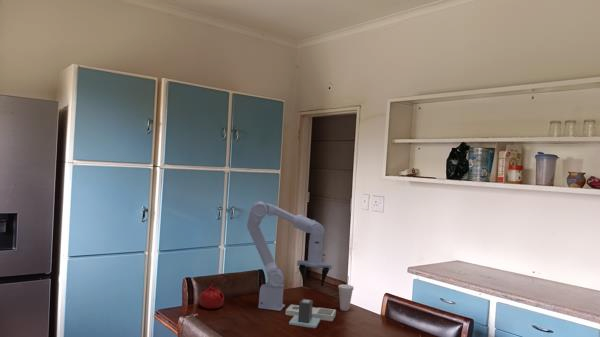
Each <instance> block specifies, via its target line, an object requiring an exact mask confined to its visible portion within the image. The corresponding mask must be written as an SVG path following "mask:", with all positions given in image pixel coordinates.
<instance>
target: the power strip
mask: <svg viewBox="0 0 600 337" xmlns="http://www.w3.org/2000/svg"><path fill="white" fill-rule="evenodd" d="M336 314H337V309H332V308H325V307H315V306H312V317H313V318H320V321H328V322H334V319H335V317H336ZM285 315H286V316H291V317H294V315H298V316H299V304H292V303H291V304H290V305H288V307H286V309H285Z"/></svg>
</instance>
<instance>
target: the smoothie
mask: <svg viewBox="0 0 600 337" xmlns="http://www.w3.org/2000/svg"><path fill="white" fill-rule="evenodd" d="M354 287H355V286H353V285H350V284H349V275H347V276H346V284H339V285H338V295H339V296H338V297H339V298H338V299H339V309H340V311H344V312H348V310H350V306H351V303H352V302H351V301H352V296H353V291H354Z"/></svg>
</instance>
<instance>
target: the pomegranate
mask: <svg viewBox="0 0 600 337" xmlns="http://www.w3.org/2000/svg"><path fill="white" fill-rule="evenodd" d="M201 289H204V290H203V291H202V292H201V293H200V294H199V299H198V300H199V304H200V306H201V307H202V308H205V309H207V310H215V309H219V308H221V307H222V306H223V305H224V301H225V295H224V293H223V292H222V290H221V288H220V287H219V286H216V287H214V283H212V282H211V283H210V285H209V286H208V287H203V288H201Z"/></svg>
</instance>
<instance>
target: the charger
mask: <svg viewBox="0 0 600 337" xmlns="http://www.w3.org/2000/svg"><path fill="white" fill-rule="evenodd" d="M313 304H314V301H313V299H306V298H302V299H300V301H299V303H298V305H299V317H298V322H303V323H309V322H310V321H311V319H312V307H314V306H313Z"/></svg>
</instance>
